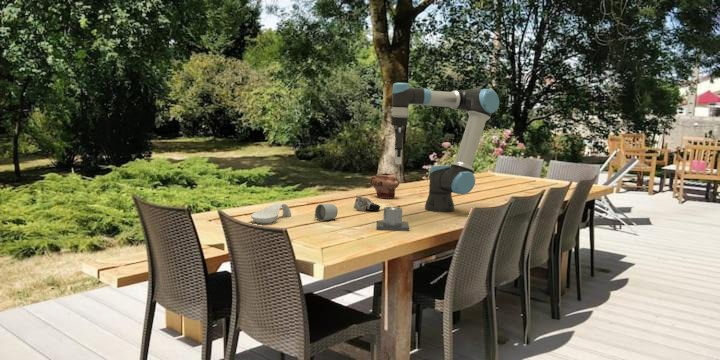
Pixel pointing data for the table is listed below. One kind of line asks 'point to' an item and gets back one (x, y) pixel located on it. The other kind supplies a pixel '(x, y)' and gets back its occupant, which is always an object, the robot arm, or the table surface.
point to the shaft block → (395, 228)
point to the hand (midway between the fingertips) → (397, 162)
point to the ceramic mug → (326, 212)
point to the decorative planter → (385, 185)
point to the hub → (392, 216)
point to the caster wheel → (365, 204)
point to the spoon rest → (270, 213)
